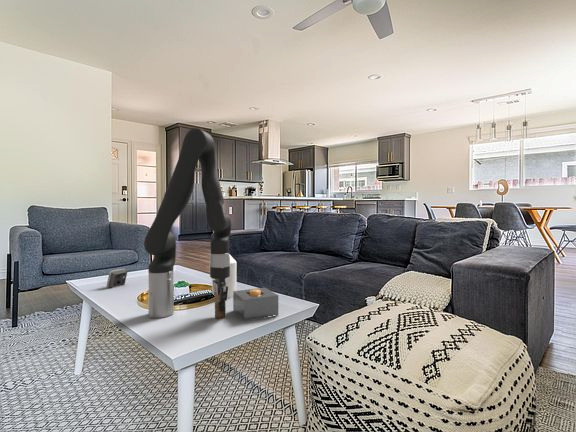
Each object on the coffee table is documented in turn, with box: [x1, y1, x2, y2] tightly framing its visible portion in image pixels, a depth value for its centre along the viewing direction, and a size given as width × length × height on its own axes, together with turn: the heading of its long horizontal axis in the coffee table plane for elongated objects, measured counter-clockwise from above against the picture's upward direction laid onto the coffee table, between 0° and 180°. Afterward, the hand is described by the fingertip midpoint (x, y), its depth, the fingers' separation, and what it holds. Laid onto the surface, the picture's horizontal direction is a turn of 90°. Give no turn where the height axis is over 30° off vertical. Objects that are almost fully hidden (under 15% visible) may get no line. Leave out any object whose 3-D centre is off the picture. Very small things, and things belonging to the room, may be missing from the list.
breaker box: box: [232, 287, 279, 322], centre depth 130 cm, size 14×14×8 cm
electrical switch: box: [106, 268, 128, 289], centre depth 176 cm, size 9×5×9 cm, turn 159°
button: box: [250, 288, 261, 296], centre depth 130 cm, size 4×4×6 cm
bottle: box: [211, 253, 238, 299], centre depth 157 cm, size 12×12×25 cm
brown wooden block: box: [214, 286, 227, 320], centre depth 125 cm, size 4×4×12 cm
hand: (220, 309), depth 125 cm, fingers closed on brown wooden block, 4 cm apart
